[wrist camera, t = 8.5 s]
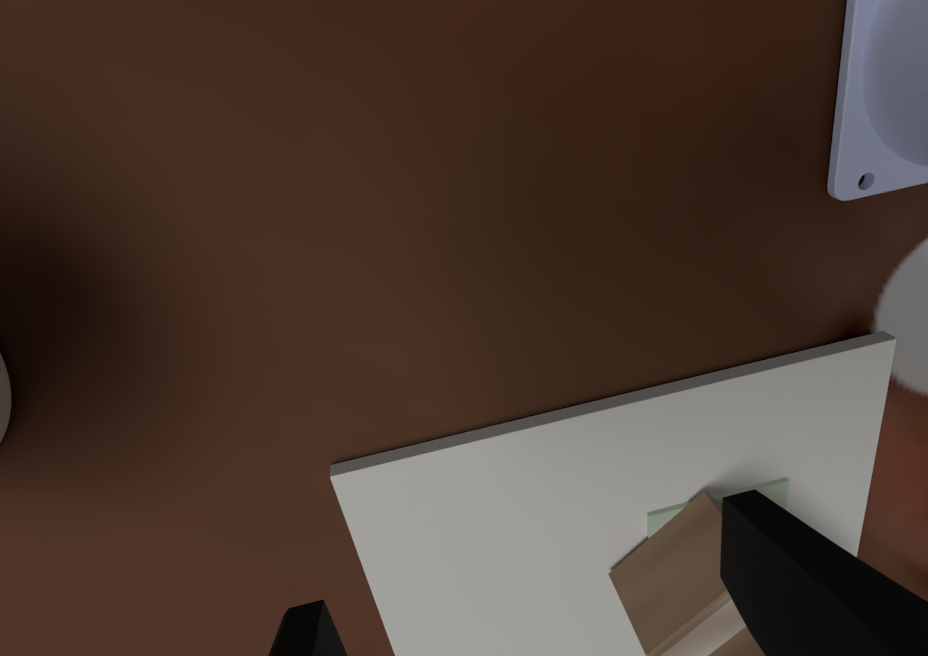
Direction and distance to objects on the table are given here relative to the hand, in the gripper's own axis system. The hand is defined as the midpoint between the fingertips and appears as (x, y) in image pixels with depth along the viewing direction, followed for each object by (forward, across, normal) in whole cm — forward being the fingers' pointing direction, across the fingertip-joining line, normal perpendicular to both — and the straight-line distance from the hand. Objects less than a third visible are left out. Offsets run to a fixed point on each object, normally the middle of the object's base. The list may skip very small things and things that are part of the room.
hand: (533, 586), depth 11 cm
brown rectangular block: (+9, -8, +13) cm, 18 cm away
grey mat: (+9, -5, +11) cm, 15 cm away
